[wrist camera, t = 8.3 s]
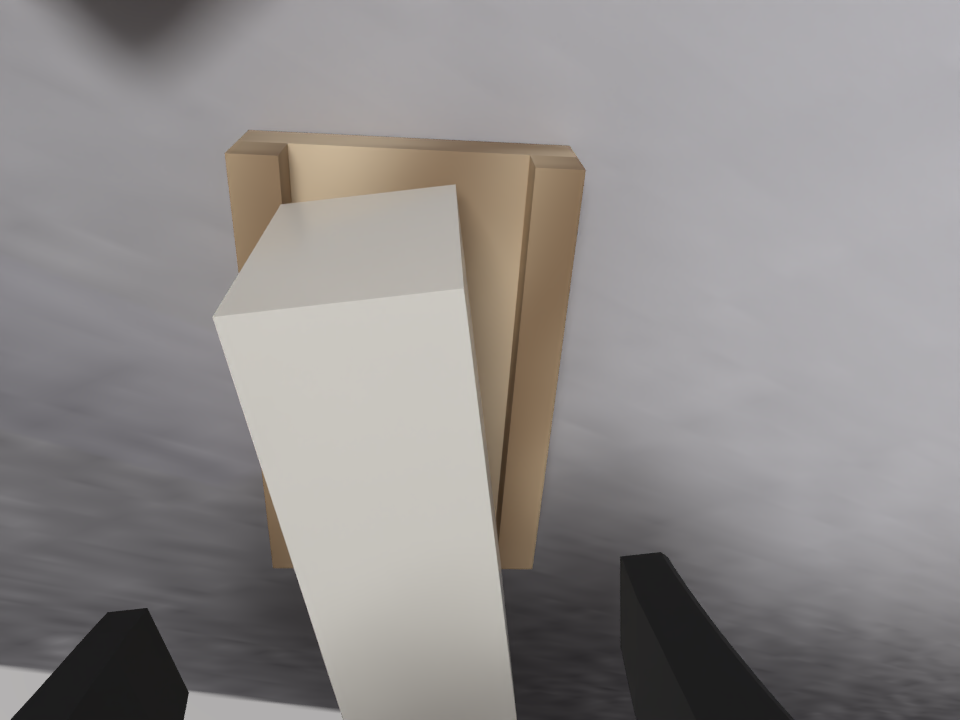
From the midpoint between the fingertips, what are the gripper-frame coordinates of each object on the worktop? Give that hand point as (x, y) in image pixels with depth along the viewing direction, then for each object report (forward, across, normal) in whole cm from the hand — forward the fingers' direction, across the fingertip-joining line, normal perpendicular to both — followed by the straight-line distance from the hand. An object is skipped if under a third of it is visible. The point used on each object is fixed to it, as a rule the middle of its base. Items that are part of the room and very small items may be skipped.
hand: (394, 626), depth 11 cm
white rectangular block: (+6, 0, 0) cm, 7 cm away
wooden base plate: (+8, 0, 0) cm, 9 cm away
